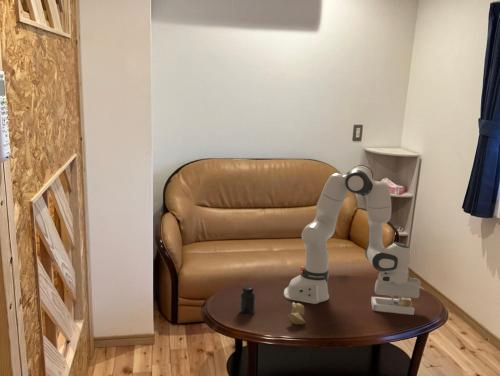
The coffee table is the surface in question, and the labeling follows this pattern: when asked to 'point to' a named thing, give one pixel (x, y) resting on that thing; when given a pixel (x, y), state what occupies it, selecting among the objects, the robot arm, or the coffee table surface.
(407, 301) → the block
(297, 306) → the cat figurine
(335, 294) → the coffee table surface
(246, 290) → the supplement bottle
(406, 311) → the channel
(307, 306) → the coffee table surface
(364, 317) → the coffee table surface
